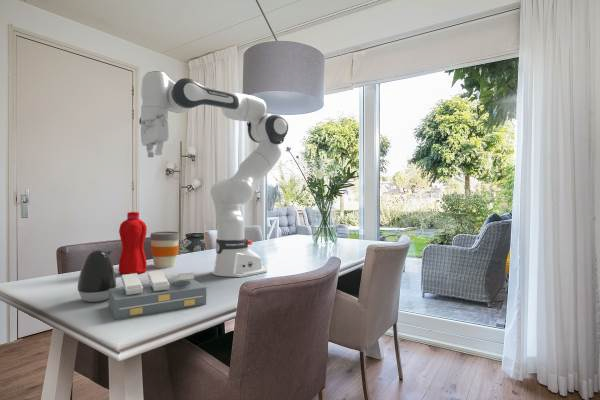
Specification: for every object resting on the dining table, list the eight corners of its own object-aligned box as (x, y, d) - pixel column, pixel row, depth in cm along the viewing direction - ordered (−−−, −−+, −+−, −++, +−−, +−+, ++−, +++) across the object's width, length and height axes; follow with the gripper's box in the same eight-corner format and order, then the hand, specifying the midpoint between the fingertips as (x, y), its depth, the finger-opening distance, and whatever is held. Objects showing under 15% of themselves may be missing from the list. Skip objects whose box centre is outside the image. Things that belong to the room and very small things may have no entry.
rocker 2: (161, 275, 107) (162, 270, 107) (169, 289, 100) (169, 283, 100) (147, 276, 105) (148, 271, 104) (154, 291, 98) (154, 285, 97)
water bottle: (130, 269, 151) (130, 211, 150) (150, 271, 147) (150, 211, 146) (111, 273, 142) (112, 211, 142) (132, 276, 138) (132, 212, 138)
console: (192, 293, 114) (192, 275, 114) (206, 304, 104) (206, 284, 103) (108, 306, 101) (108, 285, 101) (115, 319, 90) (115, 296, 90)
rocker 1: (136, 277, 103) (137, 272, 103) (142, 292, 96) (143, 287, 96) (121, 279, 101) (121, 274, 100) (126, 294, 94) (126, 289, 93)
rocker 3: (185, 280, 111) (184, 274, 111) (194, 278, 104) (193, 272, 104) (172, 281, 108) (171, 276, 109) (180, 279, 101) (180, 274, 102)
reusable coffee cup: (166, 269, 150) (166, 234, 150) (143, 267, 155) (143, 233, 155) (185, 264, 162) (185, 232, 162) (163, 262, 167) (164, 231, 166)
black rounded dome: (124, 296, 111) (124, 248, 111) (98, 306, 101) (98, 253, 101) (96, 293, 113) (97, 246, 113) (68, 303, 103) (69, 251, 103)
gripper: (173, 113, 120) (173, 154, 120) (155, 123, 136) (155, 159, 136) (154, 110, 116) (154, 153, 116) (137, 120, 132) (137, 157, 132)
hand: (154, 156), depth 126 cm, fingers open, 8 cm apart
